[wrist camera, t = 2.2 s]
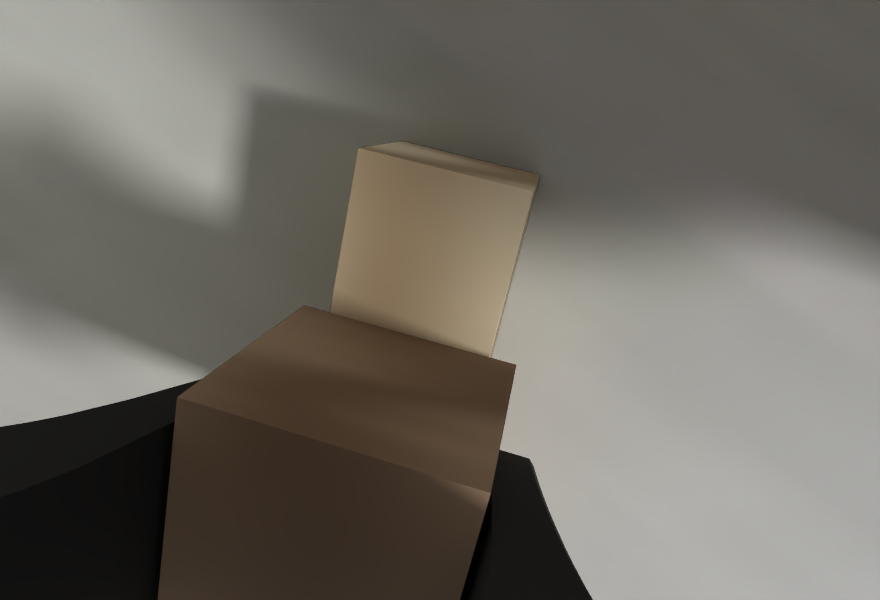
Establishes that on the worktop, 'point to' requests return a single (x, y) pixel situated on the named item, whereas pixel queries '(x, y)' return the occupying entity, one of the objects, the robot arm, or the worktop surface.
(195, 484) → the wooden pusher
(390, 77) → the worktop surface
